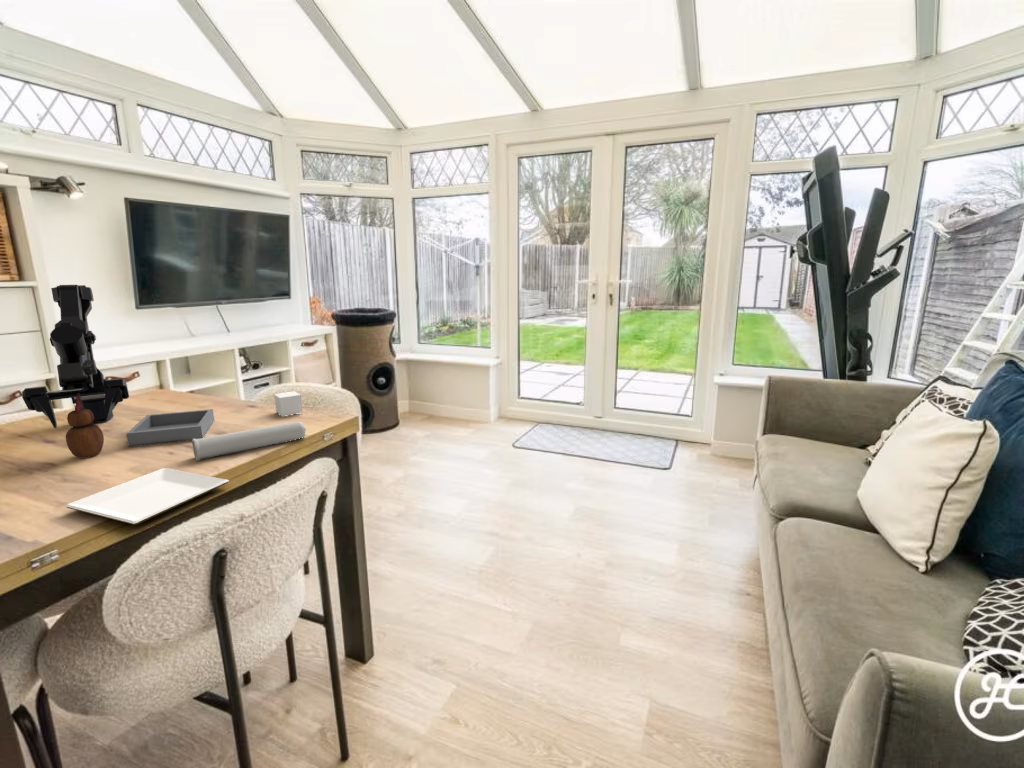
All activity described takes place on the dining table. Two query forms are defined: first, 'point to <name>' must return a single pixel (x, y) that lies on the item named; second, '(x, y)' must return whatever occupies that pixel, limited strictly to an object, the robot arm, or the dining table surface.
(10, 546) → the dining table surface
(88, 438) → the wooden figurine
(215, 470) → the dining table surface
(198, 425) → the box
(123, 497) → the plate
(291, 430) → the tube
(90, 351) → the robot arm
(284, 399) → the light grey cube
